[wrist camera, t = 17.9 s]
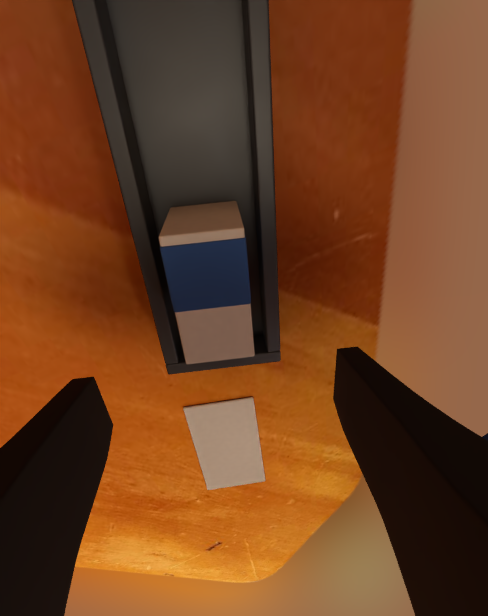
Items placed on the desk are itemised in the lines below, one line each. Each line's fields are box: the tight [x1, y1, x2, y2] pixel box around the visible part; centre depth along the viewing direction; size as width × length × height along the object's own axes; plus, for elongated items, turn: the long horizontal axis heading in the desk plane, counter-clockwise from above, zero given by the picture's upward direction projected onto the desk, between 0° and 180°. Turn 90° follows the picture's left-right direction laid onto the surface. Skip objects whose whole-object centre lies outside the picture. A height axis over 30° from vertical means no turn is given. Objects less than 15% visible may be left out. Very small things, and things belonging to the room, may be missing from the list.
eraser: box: [159, 201, 255, 364], centre depth 13 cm, size 5×3×4 cm, turn 5°
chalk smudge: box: [183, 397, 265, 490], centre depth 21 cm, size 8×4×1 cm, turn 7°
